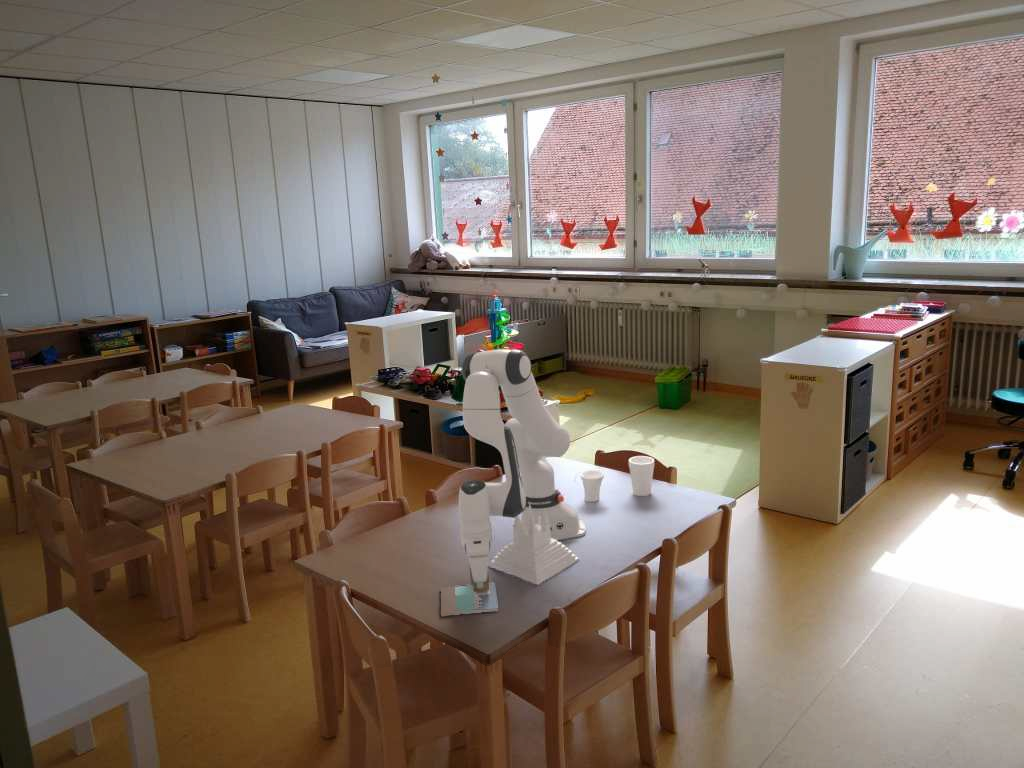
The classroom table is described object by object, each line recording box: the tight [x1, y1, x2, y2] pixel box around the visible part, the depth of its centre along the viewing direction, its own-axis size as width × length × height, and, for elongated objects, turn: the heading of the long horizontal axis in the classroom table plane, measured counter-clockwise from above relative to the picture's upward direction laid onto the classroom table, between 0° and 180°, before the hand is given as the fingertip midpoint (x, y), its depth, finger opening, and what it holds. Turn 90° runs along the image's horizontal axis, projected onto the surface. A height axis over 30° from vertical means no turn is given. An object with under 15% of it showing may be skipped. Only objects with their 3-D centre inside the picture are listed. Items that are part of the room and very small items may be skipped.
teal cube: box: [455, 584, 475, 611], centre depth 214 cm, size 5×5×5 cm
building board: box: [475, 581, 499, 610], centre depth 219 cm, size 16×15×1 cm
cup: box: [579, 469, 605, 503], centre depth 286 cm, size 9×9×10 cm
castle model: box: [490, 504, 580, 586], centre depth 237 cm, size 20×20×18 cm
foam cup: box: [628, 455, 655, 497], centre depth 289 cm, size 10×9×13 cm
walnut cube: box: [469, 567, 490, 592], centre depth 222 cm, size 5×5×5 cm
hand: (479, 581), depth 222 cm, fingers closed on walnut cube, 5 cm apart
